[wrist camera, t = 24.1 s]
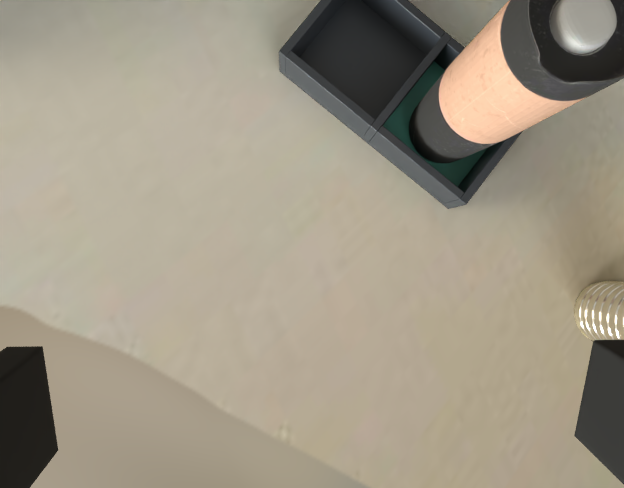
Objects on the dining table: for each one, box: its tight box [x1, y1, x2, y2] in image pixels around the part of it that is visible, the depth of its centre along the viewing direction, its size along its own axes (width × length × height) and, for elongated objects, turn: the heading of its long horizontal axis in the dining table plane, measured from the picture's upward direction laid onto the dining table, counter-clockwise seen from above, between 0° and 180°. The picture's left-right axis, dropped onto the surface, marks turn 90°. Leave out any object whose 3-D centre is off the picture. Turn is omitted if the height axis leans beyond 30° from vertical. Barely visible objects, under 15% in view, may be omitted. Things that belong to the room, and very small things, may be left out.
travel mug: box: [409, 0, 624, 163], centre depth 30 cm, size 8×8×20 cm
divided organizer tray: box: [279, 0, 522, 209], centre depth 39 cm, size 22×12×4 cm, turn 52°
